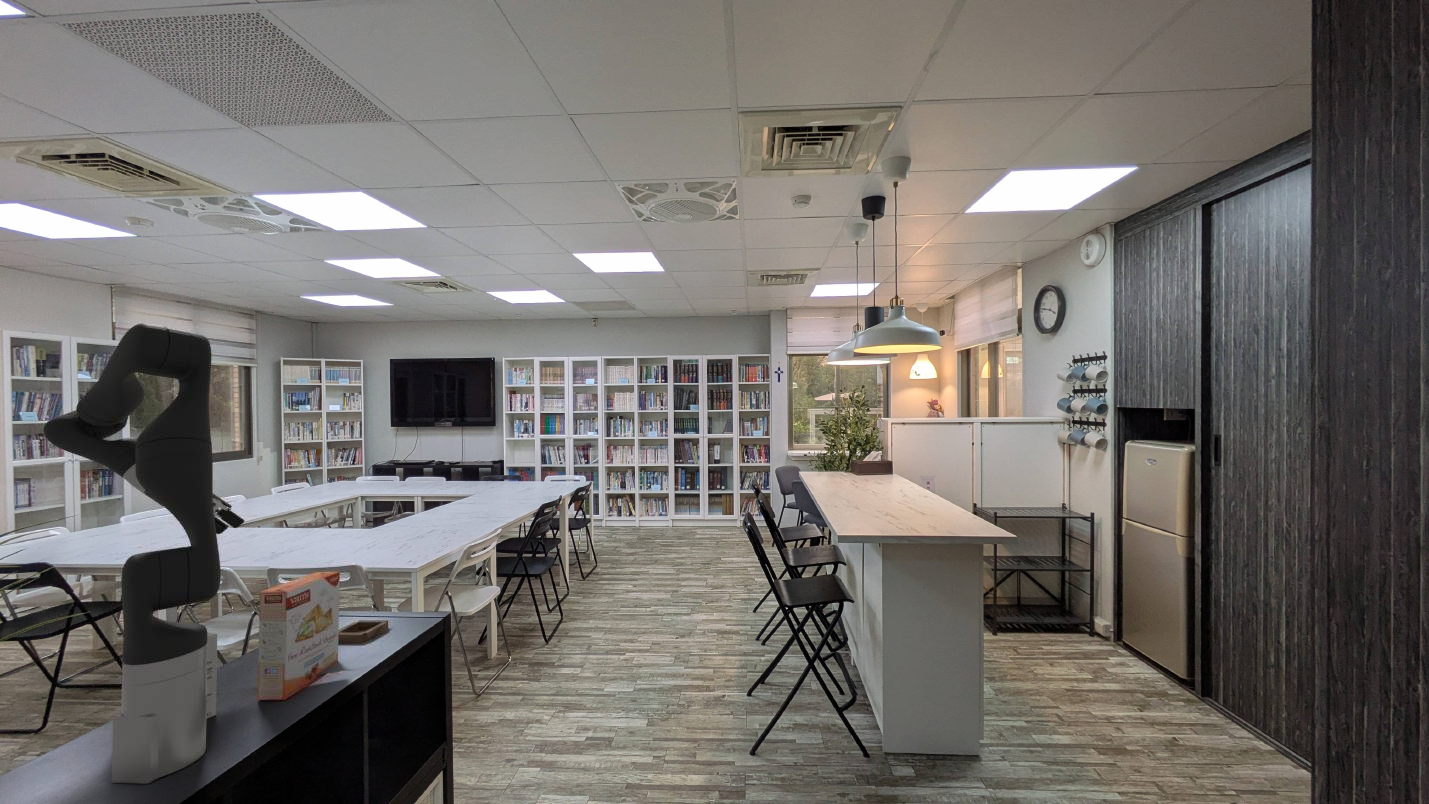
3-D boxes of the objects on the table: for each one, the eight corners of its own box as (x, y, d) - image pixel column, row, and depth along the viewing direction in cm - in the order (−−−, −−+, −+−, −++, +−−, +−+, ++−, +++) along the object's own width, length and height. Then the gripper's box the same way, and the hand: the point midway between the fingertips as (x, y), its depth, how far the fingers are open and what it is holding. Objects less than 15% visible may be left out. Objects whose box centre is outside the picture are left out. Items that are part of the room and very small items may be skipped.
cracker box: (286, 701, 99) (287, 590, 100) (255, 702, 99) (256, 591, 100) (341, 667, 113) (341, 570, 114) (313, 667, 113) (314, 570, 114)
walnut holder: (364, 650, 121) (364, 635, 121) (326, 650, 122) (326, 635, 122) (393, 633, 130) (393, 619, 131) (357, 633, 131) (357, 619, 131)
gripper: (161, 467, 104) (235, 518, 108) (195, 464, 117) (260, 510, 121) (124, 496, 101) (201, 547, 106) (163, 490, 114) (230, 536, 118)
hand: (232, 527), depth 113 cm, fingers open, 8 cm apart
